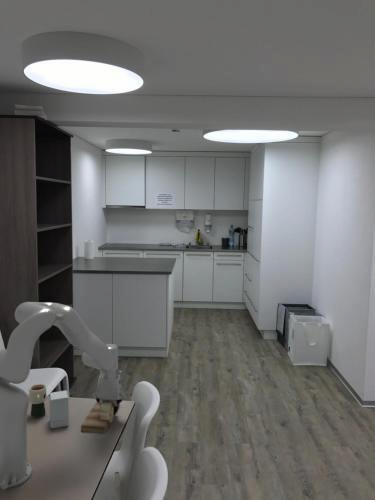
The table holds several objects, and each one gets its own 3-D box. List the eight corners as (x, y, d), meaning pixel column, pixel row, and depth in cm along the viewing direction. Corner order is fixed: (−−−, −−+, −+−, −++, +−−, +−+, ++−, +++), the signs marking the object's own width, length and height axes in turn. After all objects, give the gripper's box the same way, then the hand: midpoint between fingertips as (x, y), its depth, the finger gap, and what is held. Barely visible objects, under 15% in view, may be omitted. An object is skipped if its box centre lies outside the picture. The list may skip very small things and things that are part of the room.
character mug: (47, 419, 171) (47, 391, 170) (29, 422, 168) (29, 393, 167) (45, 408, 181) (45, 381, 180) (29, 410, 178) (28, 383, 177)
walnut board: (104, 433, 162) (104, 427, 162) (81, 431, 163) (81, 425, 163) (119, 404, 186) (119, 399, 186) (99, 403, 187) (99, 398, 186)
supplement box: (68, 425, 167) (68, 397, 166) (50, 428, 164) (50, 400, 163) (67, 417, 174) (67, 389, 172) (49, 420, 171) (49, 392, 170)
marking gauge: (111, 422, 167) (111, 406, 167) (100, 421, 168) (100, 405, 167) (117, 411, 176) (117, 396, 175) (106, 411, 177) (106, 395, 176)
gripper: (130, 370, 173) (130, 410, 175) (92, 368, 174) (92, 407, 176) (126, 377, 166) (125, 418, 167) (87, 375, 167) (87, 415, 169)
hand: (108, 412), depth 172 cm, fingers closed on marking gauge, 5 cm apart
